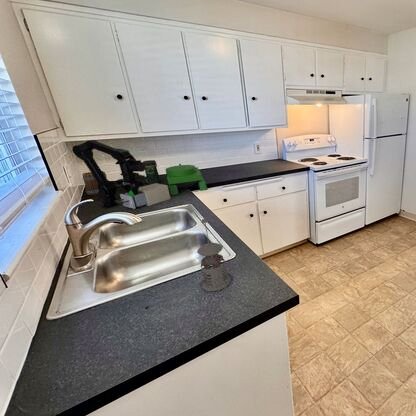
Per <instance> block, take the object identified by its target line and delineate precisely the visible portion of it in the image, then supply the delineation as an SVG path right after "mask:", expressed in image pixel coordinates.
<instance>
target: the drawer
mask: <svg viewBox="0 0 416 416" xmlns="http://www.w3.org/2000/svg"><path fill="white" fill-rule="evenodd" d="M138 193H139V194H137V195H134V198H133V197H132V196H129V193H128V192H125V193H124V194H123V193H120V194H119V196H120V199H117V200H115V202H116V203H117V204H120V205H122V206H123V207H126V208H128V209H129V208H130V209H133V210H135V209H136V208H138V207H142V206H146V205H145V204H148V203H147V199H146V195H145V192H140V191H138Z"/></svg>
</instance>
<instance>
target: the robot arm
mask: <svg viewBox="0 0 416 416" xmlns="http://www.w3.org/2000/svg"><path fill="white" fill-rule="evenodd" d="M93 150H96V151H97V152H101V153H104V154H106V155H109V156H111V158H112V159H114V160H116V162H115V163H114V164H115V165H119V168H120V172H121V173H120V176H121V177H122V178H118V179H117V180H116V183H117V185H120V187H122V188H123V189H124V190H125V191H126V193H129V191H132V192H133V194H134V195H137V194H138V189H139V187H143V186H145V182H144V181H145V180H146V175H144V174H140V173H142V172H145V165H144V163H142V162H143V161H142V160H141V159H136V158H135V157H134V156H133V154H131V153H130V151H129V150H128V149H124V148H116V147H113V146H110V145H107V144H105V143H103V142H100V141H97V140H95V139H91V140H86V141H85V142H83V143H80V144H75V145H73V146H72V149H71V151H72V153H73V154H74V155H75V156H76V158H78V159H80V160H82V161H83V163H84V164H85V166H86V167H87V169H88V170H89V172H90V173H92V175H93V176H94V178H95V179H96V181H97V182H98V189H99V192H98V194H97V195H96V197H97V199H100V200H101V203H102V205H101V206H102V207H104V208H107V209H108V208H111V207H114V206H118V205H119V203H116V202H115V200H118V199H117V197H116V195H117V190H118V188H117V185H116V184H115V181H114V180H109V179H106V177H107V176H106V177H105V175H104V174H103V172H104V171H103V170H102V169H101V167H100V166H99V165H98V163H97V161H96V160H95V158H94V151H93ZM102 171H103V172H102Z"/></svg>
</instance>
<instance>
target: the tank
mask: <svg viewBox="0 0 416 416" xmlns="http://www.w3.org/2000/svg"><path fill="white" fill-rule="evenodd" d="M164 171H165V174H166V179H167V183H168V189H169V193H170V196H176V195H179V194H180V193H179V189H178V184H182V183H188V182H189V183H190V182H196V183H197V185H198V187H199V190H200V191H201V192H203V191H208V187H207V184H206V180H205V178H204V177H203V174H202V173H201V171H200V168H199V167H197V166H195V165H193V164H182V163H178V165H173V166H169V167H166V168H165V170H164Z"/></svg>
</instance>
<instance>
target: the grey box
mask: <svg viewBox="0 0 416 416" xmlns="http://www.w3.org/2000/svg"><path fill="white" fill-rule="evenodd" d="M138 191H140V192H145V195H146V199H147V203H148V204H145V205H144V206H147V207H149V206H153V205H157V204H160V203H162V202H165V201H169V200H171V193H170V189H169V185H166V184H162V183H155V184H147V185H144V186H140V187H139V189H138Z"/></svg>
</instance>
